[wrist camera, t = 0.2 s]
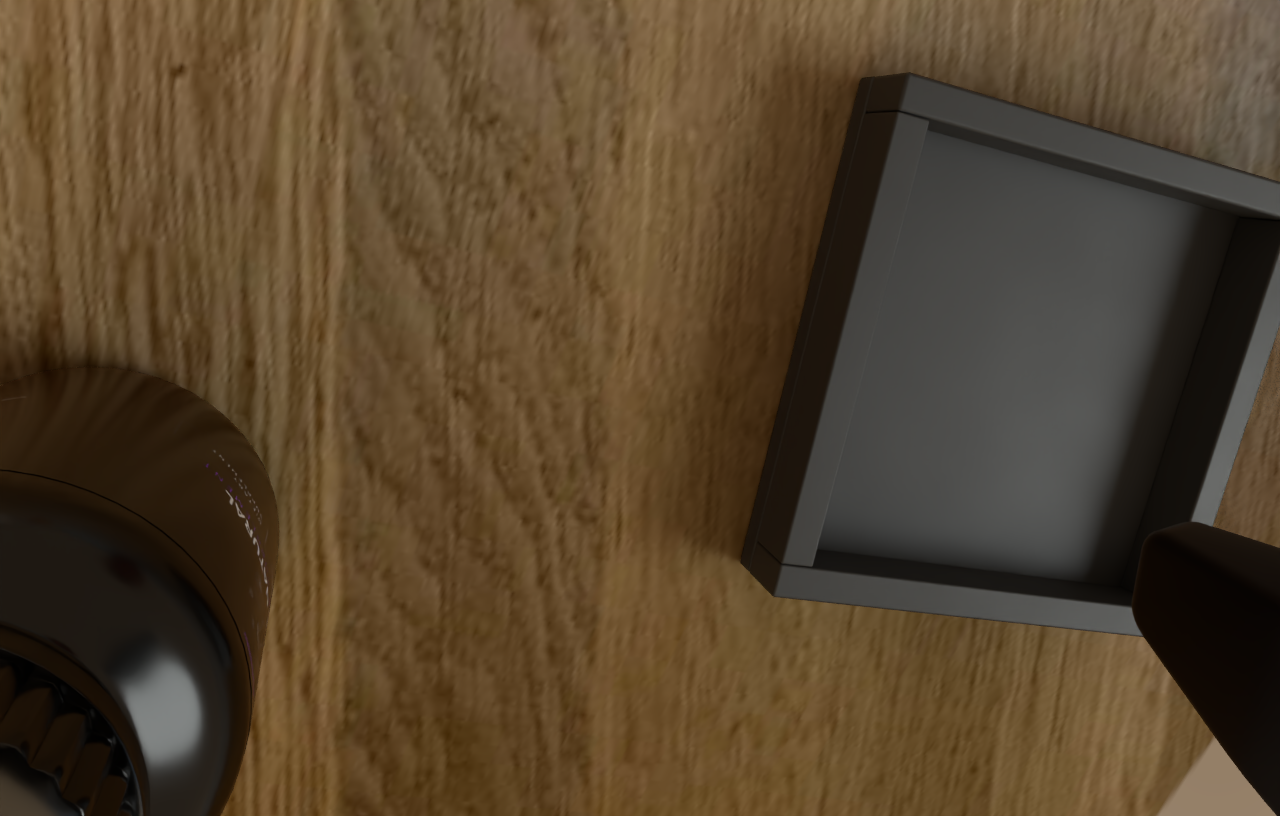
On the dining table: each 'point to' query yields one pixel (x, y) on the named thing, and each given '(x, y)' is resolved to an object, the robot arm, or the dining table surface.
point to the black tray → (1012, 362)
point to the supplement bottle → (127, 595)
